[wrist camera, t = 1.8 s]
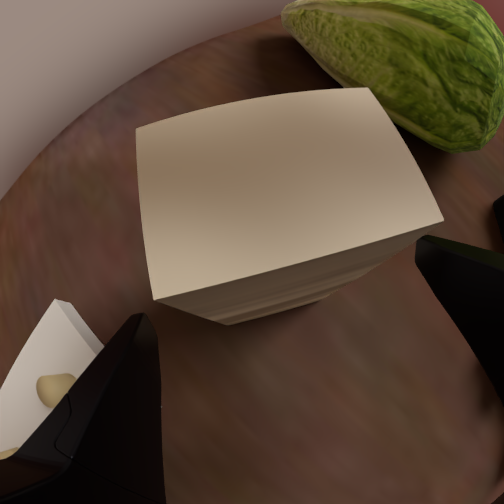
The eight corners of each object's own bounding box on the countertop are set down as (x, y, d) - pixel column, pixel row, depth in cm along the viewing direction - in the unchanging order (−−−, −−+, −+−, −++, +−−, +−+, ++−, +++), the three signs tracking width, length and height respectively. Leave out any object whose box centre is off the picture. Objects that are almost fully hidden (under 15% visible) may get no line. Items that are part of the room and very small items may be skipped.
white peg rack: (162, 406, 16) (134, 425, 11) (60, 506, 12) (34, 523, 7) (70, 303, 17) (31, 292, 13) (-4, 425, 14) (-34, 430, 9)
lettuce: (255, 98, 29) (337, 69, 33) (471, 199, 15) (498, 137, 20) (233, -20, 17) (330, -20, 22) (517, 7, 4) (519, 25, 8)
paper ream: (320, 300, 17) (443, 220, 5) (227, 325, 17) (153, 300, 5) (301, 239, 19) (364, 83, 6) (212, 262, 18) (135, 123, 6)
